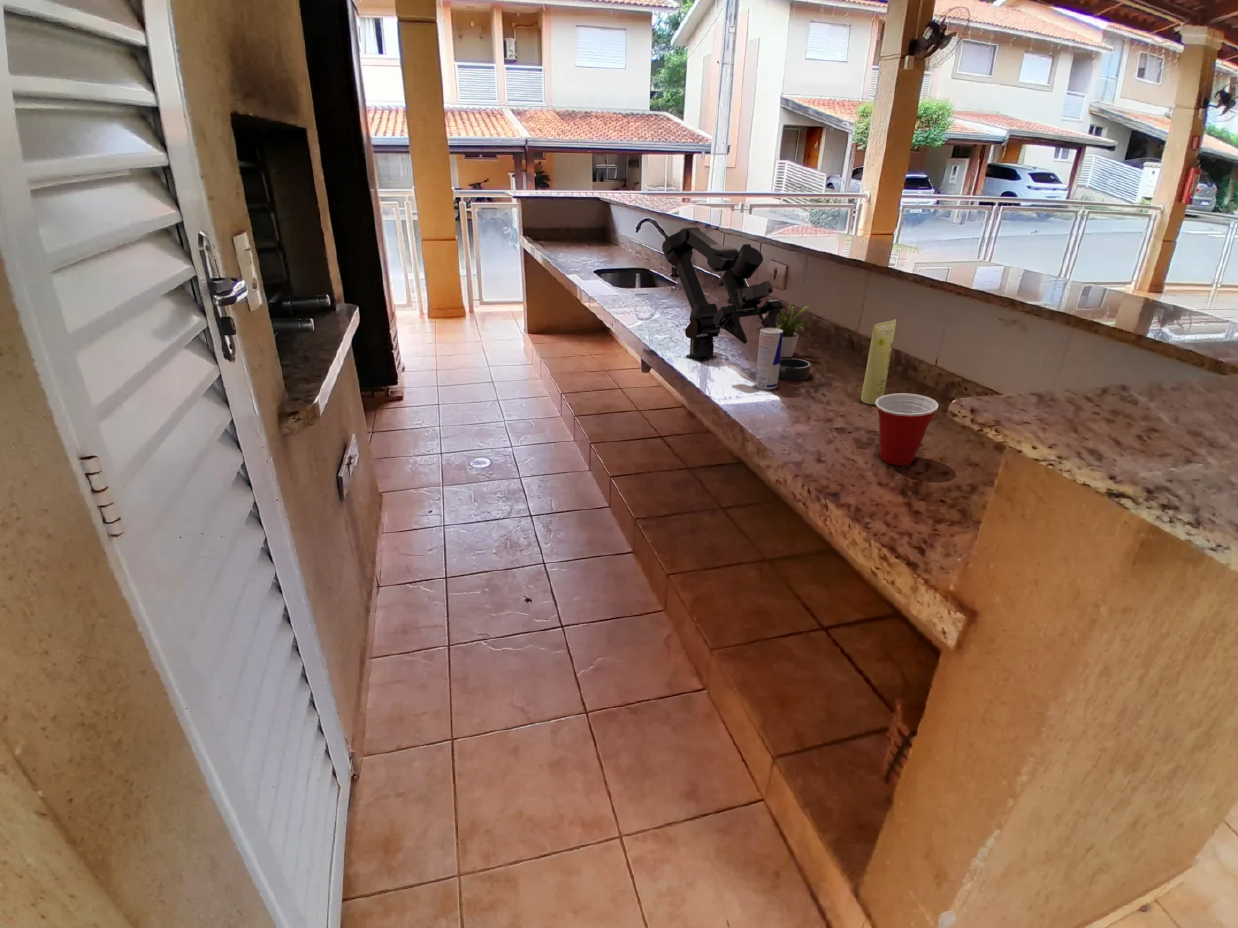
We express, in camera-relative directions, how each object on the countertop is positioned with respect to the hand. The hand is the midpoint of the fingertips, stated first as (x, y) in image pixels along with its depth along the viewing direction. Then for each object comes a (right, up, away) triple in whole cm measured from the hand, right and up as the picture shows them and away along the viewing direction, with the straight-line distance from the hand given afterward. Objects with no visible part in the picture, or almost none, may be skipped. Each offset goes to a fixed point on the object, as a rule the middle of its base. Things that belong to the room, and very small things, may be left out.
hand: (760, 340), depth 158 cm
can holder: (+11, -7, +10) cm, 17 cm away
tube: (+25, -17, -9) cm, 31 cm away
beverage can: (+2, -12, +2) cm, 12 cm away
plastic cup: (+17, -31, -38) cm, 52 cm away
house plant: (+12, +1, +29) cm, 31 cm away
